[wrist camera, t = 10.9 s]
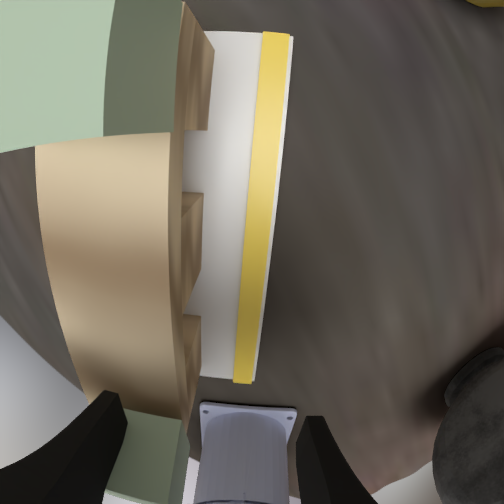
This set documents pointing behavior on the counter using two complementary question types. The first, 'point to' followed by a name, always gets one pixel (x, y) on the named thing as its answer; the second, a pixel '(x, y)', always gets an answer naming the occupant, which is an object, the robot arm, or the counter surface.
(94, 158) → the tan wooden bar
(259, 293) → the dock
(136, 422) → the block
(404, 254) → the counter surface
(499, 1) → the plant pot
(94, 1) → the block
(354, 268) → the counter surface
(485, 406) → the pitcher
